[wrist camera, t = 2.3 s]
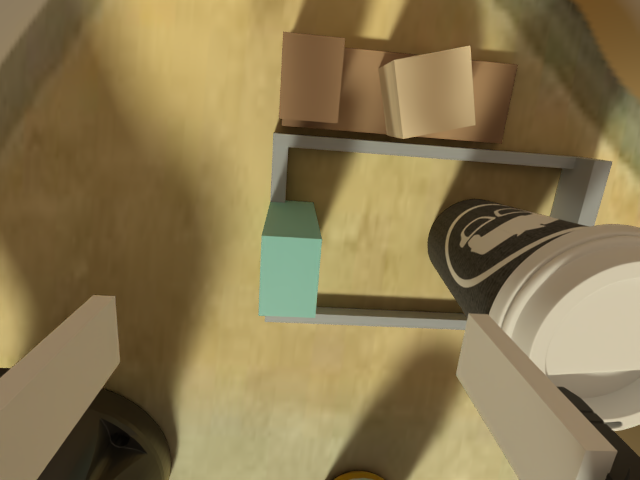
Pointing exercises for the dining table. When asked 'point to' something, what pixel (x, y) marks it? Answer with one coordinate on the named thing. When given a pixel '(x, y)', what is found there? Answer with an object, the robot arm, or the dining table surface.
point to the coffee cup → (552, 295)
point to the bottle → (358, 476)
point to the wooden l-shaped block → (373, 89)
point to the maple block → (428, 93)
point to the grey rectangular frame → (305, 238)
